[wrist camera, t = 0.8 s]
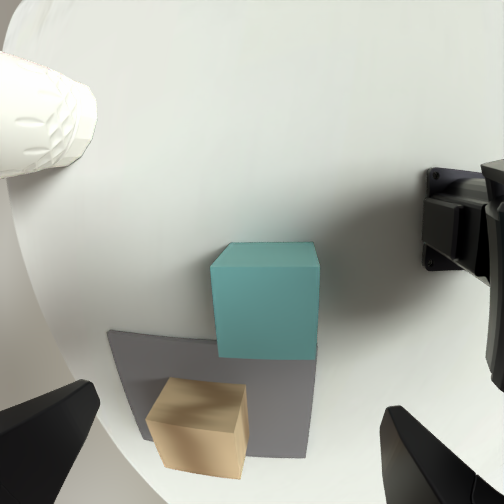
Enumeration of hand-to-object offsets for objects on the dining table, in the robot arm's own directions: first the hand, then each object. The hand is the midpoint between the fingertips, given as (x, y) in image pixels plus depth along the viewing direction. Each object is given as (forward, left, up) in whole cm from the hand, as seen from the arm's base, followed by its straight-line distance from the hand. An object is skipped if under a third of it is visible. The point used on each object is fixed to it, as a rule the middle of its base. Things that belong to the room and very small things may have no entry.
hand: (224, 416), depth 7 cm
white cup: (+15, -12, -12) cm, 22 cm away
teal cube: (0, 0, -12) cm, 12 cm away
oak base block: (+5, +11, -11) cm, 17 cm away
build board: (+5, +11, -12) cm, 17 cm away
